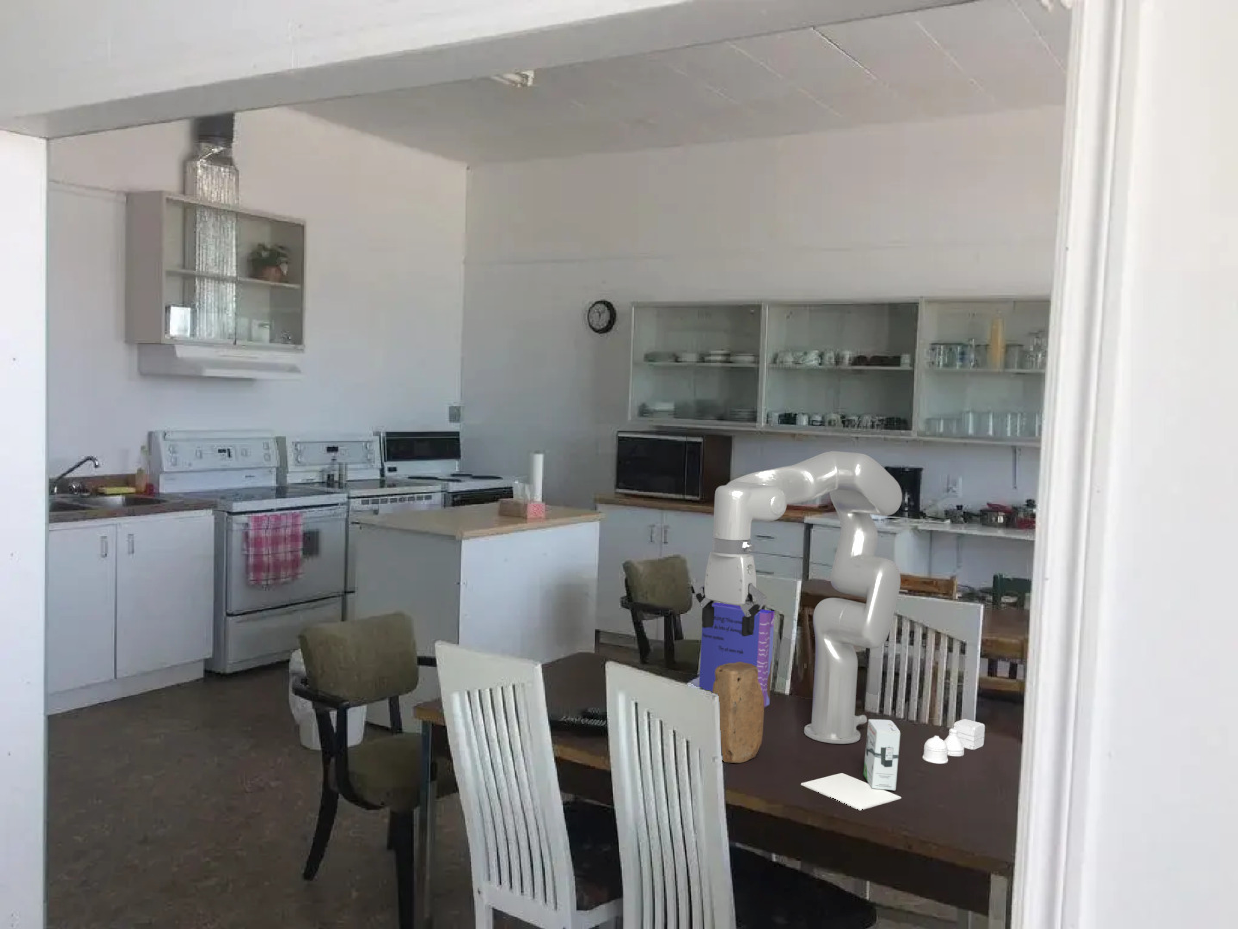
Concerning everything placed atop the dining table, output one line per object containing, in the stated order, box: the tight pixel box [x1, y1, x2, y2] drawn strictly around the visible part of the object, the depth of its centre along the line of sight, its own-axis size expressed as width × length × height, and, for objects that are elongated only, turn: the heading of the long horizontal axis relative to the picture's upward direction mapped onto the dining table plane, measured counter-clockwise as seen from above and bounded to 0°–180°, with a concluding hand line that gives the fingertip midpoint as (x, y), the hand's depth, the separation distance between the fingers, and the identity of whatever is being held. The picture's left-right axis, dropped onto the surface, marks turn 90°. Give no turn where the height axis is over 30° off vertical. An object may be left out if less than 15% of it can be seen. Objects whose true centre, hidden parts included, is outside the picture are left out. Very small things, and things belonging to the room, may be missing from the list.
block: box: [712, 662, 765, 764], centre depth 222 cm, size 11×8×20 cm
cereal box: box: [698, 601, 775, 709], centre depth 265 cm, size 17×5×24 cm, turn 59°
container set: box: [922, 718, 986, 764], centre depth 233 cm, size 20×5×6 cm, turn 135°
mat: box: [800, 772, 902, 811], centre depth 206 cm, size 12×15×1 cm
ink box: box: [862, 718, 901, 791], centre depth 211 cm, size 9×5×12 cm, turn 178°
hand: (727, 631), depth 212 cm, fingers open, 9 cm apart
